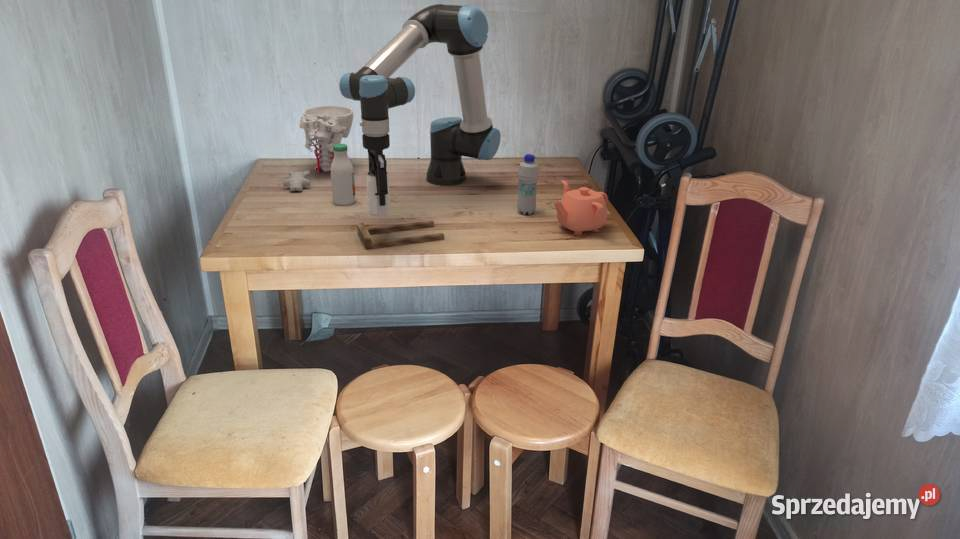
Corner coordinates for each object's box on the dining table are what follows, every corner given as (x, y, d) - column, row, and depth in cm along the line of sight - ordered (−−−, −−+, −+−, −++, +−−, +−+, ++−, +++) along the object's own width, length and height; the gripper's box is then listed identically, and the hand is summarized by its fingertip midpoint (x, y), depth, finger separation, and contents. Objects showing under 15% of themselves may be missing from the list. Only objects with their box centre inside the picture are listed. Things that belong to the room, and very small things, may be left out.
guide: (432, 224, 204) (432, 214, 203) (444, 239, 194) (444, 228, 193) (357, 233, 196) (356, 223, 195) (365, 249, 186) (364, 238, 185)
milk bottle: (350, 206, 217) (346, 149, 208) (329, 204, 218) (324, 147, 209) (359, 199, 224) (355, 142, 215) (338, 197, 225) (333, 141, 216)
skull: (313, 161, 261) (308, 105, 251) (360, 162, 262) (356, 105, 252) (300, 181, 239) (293, 120, 229) (351, 182, 240) (346, 121, 230)
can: (369, 208, 192) (366, 169, 187) (390, 208, 193) (389, 169, 187) (367, 216, 186) (365, 176, 181) (389, 216, 187) (388, 176, 181)
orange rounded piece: (550, 234, 199) (554, 193, 193) (558, 215, 214) (561, 176, 208) (603, 241, 196) (608, 199, 190) (607, 221, 210) (611, 181, 204)
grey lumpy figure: (280, 183, 225) (285, 165, 238) (282, 196, 228) (287, 178, 241) (308, 182, 227) (312, 165, 239) (310, 195, 229) (313, 177, 242)
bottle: (538, 210, 218) (542, 152, 209) (533, 217, 212) (536, 158, 203) (519, 207, 219) (522, 150, 211) (513, 214, 214) (516, 156, 205)
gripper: (355, 126, 186) (360, 201, 196) (369, 143, 170) (373, 224, 180) (381, 124, 188) (384, 198, 199) (397, 141, 172) (400, 221, 182)
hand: (379, 210), depth 189 cm, fingers closed on can, 6 cm apart
